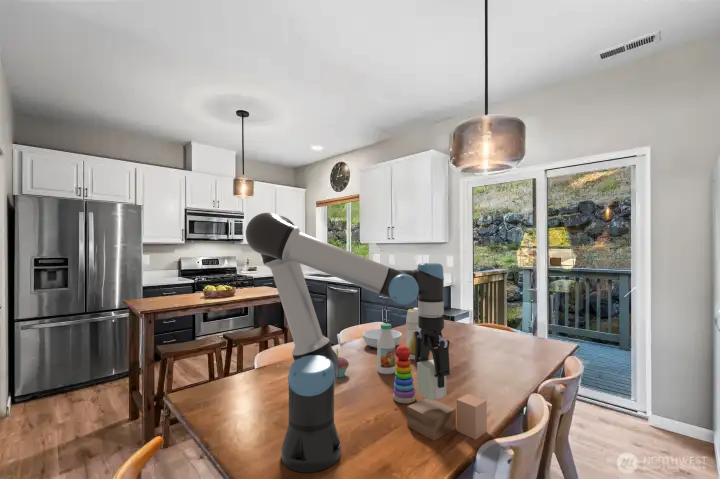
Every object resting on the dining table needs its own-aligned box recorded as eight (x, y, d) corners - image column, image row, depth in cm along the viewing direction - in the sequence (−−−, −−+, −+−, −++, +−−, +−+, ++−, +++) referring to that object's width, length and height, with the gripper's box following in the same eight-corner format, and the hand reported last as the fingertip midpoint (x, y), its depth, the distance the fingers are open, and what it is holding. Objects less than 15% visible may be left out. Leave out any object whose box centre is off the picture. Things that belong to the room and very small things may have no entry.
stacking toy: (400, 392, 126) (400, 341, 126) (420, 398, 121) (419, 345, 121) (388, 400, 120) (388, 345, 120) (408, 406, 114) (408, 350, 115)
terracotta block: (475, 439, 95) (475, 406, 95) (456, 430, 100) (456, 399, 100) (486, 431, 99) (486, 400, 99) (468, 423, 104) (467, 393, 104)
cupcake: (345, 380, 138) (345, 349, 138) (325, 378, 139) (325, 348, 139) (350, 372, 146) (350, 343, 146) (331, 370, 148) (331, 342, 148)
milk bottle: (374, 372, 145) (374, 325, 146) (381, 367, 152) (381, 321, 153) (391, 376, 142) (391, 327, 142) (398, 370, 149) (397, 323, 149)
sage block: (429, 400, 98) (429, 368, 98) (417, 392, 103) (417, 362, 103) (446, 396, 101) (446, 365, 101) (433, 388, 106) (433, 359, 106)
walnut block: (434, 441, 95) (434, 419, 95) (407, 426, 102) (407, 406, 103) (455, 429, 101) (455, 408, 101) (429, 416, 109) (429, 397, 109)
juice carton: (406, 360, 162) (406, 308, 162) (406, 354, 169) (406, 305, 170) (426, 361, 160) (426, 309, 160) (426, 355, 168) (425, 306, 168)
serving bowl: (357, 342, 191) (357, 330, 191) (392, 339, 197) (392, 327, 197) (370, 354, 171) (370, 340, 171) (408, 350, 177) (408, 336, 177)
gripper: (463, 319, 95) (464, 403, 95) (422, 308, 113) (422, 380, 112) (441, 322, 92) (442, 409, 92) (402, 310, 109) (403, 384, 109)
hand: (431, 393), depth 102 cm, fingers closed on sage block, 6 cm apart
